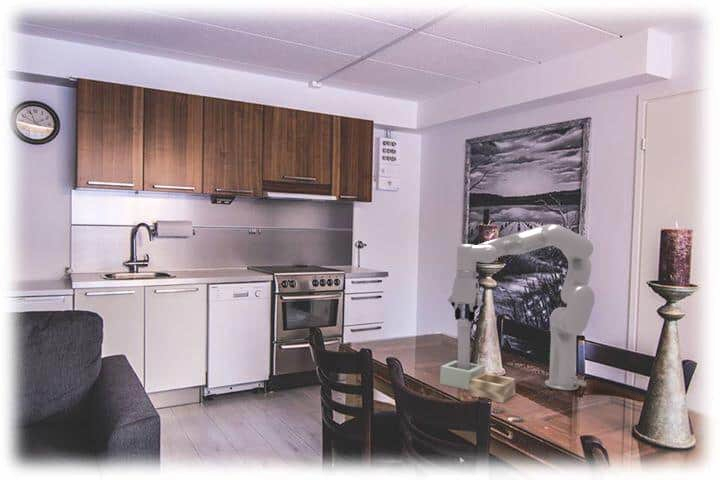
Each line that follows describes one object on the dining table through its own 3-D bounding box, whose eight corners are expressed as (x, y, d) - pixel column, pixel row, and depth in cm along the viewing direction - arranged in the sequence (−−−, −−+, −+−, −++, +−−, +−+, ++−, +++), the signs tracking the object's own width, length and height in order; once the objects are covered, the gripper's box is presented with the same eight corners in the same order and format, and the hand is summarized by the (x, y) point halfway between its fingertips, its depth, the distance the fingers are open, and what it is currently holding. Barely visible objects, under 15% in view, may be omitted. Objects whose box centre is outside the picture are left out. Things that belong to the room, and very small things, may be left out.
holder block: (484, 383, 214) (484, 365, 214) (470, 390, 203) (471, 372, 203) (454, 376, 222) (455, 360, 221) (440, 383, 211) (440, 366, 211)
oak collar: (515, 394, 200) (515, 378, 200) (502, 403, 190) (502, 386, 190) (482, 387, 208) (483, 372, 208) (468, 395, 197) (469, 379, 197)
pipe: (470, 382, 209) (472, 306, 208) (453, 380, 211) (455, 305, 210) (470, 378, 215) (472, 304, 214) (454, 377, 216) (456, 303, 215)
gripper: (490, 276, 209) (488, 321, 210) (450, 272, 219) (449, 316, 220) (482, 277, 203) (480, 324, 204) (442, 273, 213) (441, 318, 214)
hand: (464, 319), depth 212 cm, fingers closed on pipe, 5 cm apart
